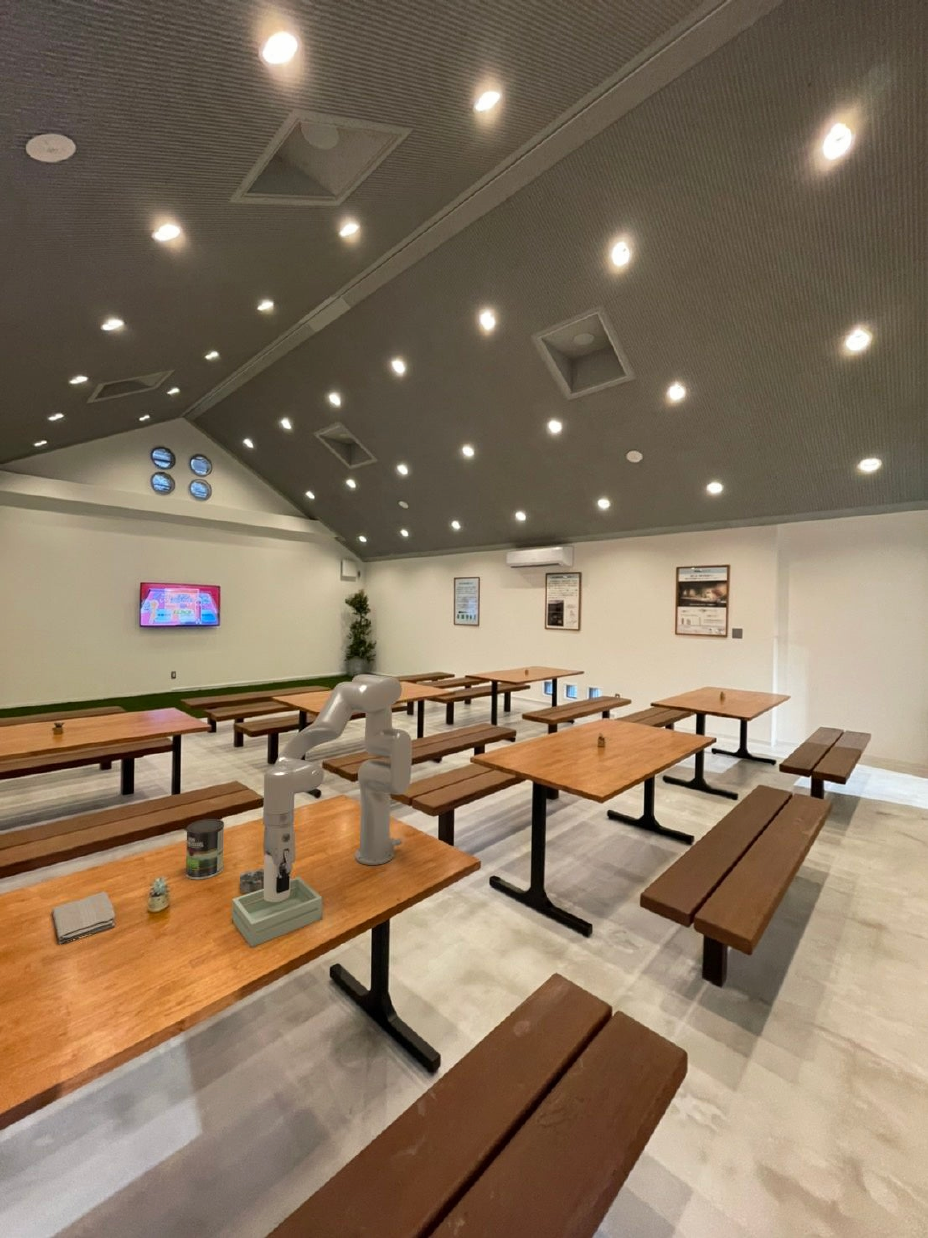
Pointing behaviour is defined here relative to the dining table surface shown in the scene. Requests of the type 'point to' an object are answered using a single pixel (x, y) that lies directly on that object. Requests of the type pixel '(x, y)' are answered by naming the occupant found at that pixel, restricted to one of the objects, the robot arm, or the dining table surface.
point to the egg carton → (251, 881)
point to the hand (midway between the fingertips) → (277, 885)
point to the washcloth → (83, 917)
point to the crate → (276, 913)
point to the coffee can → (204, 849)
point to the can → (272, 881)
